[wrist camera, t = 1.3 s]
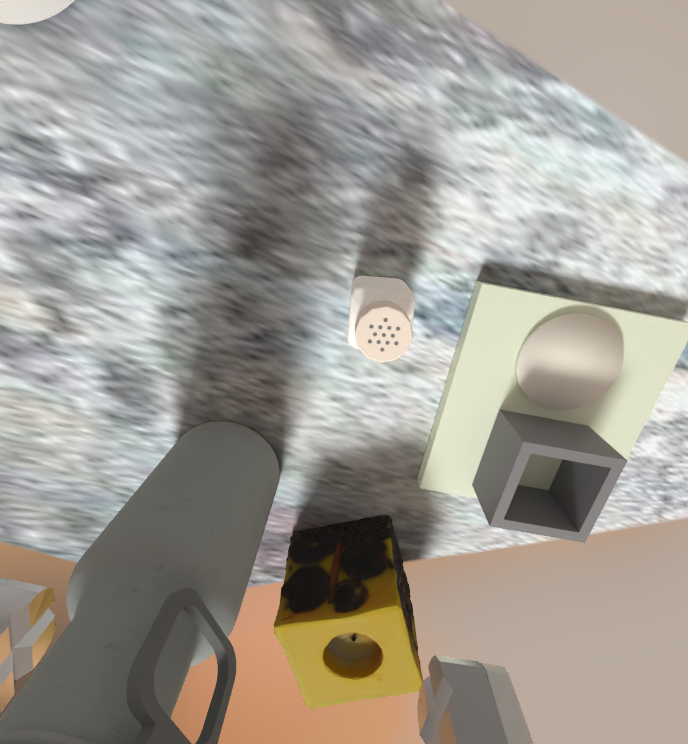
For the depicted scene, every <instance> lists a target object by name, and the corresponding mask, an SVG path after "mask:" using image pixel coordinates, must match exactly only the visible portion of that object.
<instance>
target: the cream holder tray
mask: <svg viewBox="0 0 688 744" xmlns="http://www.w3.org/2000/svg"><path fill="white" fill-rule="evenodd" d="M687 341H688V322H685V321H682V320H677V319H672V318H667V317H662V316H657V315H652V314H646V313H641V312H636V311H631V310H626V309H621V308H615V307H610V306H605V305H600V304H595V303H589V302H584V301H579V300H574V299H569V298H564V297H558V296H553V295H548V294H543V293H538V292H533V291H527V290H522V289H517V288H512V287H507V286H502V285H496V284H491V283H486V282H481V281H476V284H475V287H474V290H473V294H472V297H471V300H470V304H469V307H468V310H467V314H466V317H465V320H464V324H463V327H462V330H461V334H460V337H459V341H458V344H457V347H456V351H455V354H454V357H453V361H452V364H451V367H450V371H449V374H448V377H447V381H446V384H445V387H444V391H443V394H442V397H441V401H440V404H439V407H438V411H437V414H436V417H435V421H434V424H433V427H432V431H431V434H430V438H429V441H428V444H427V448H426V451H425V454H424V458H423V461H422V464H421V468H420V471H419V474H418V478H417V479H418V483H419V487H420V489H426V490H432V491H437V492H443V493H449V494H454V495H460V496H466V497H472V498H477V499H478V500H479V502H480V505H481V507H482V509H483V512H484V514H485V516H486V519H487V521H488V523H489V525H490V526H492V527H498V528H503V529H509V530H515V531H521V532H527V533H532V534H538V535H544V536H550V537H555V538H561V539H567V540H573V541H579V542H584V543H585V542H586V540H587V537H588V536H589V534H590V532H591V530H592V528H593V526H594V524H595V522H596V520H597V518H598V516H599V515H600V513H601V511H602V509H603V507H604V505H605V503H606V501H607V499H608V497H609V495H610V493H611V491H612V489H613V488H614V486H615V484H616V482H617V480H618V478H619V476H620V474H621V472H622V470H623V468H624V466H625V464H626V462H627V461H628V460H626V459H627V458H628V456H629V454H630V452H631V450H632V448H633V446H634V444H635V442H636V440H637V438H638V436H639V434H640V432H641V430H642V428H643V427H644V425H645V423H646V421H647V419H648V417H649V415H650V413H651V411H652V409H653V407H654V405H655V403H656V401H657V399H658V397H659V396H660V394H661V392H662V390H663V388H664V386H665V384H666V382H667V380H668V378H669V376H670V374H671V372H672V370H673V368H674V366H675V365H676V363H677V361H678V359H679V357H680V355H681V353H682V351H683V349H684V347H685V345H686V343H687Z"/></svg>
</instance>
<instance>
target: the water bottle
mask: <svg viewBox="0 0 688 744" xmlns="http://www.w3.org/2000/svg"><path fill="white" fill-rule="evenodd" d="M279 476H280V470H279V463H278V460H277V457H276V455H275V453H274V451H273V449H272V448H271V446H270V445H269V444H268V443H267V442H266V440H265V439H264V438H263V437H262V436H260V435H259V434H258V433H256V432H255V431H254V430H252V429H250V428H248V427H246V426H244V425H240V424H237V423H233V422H226V421H212V422H207V423H203V424H200V425H198V426H196V427H194V428H192V429H190V430H189V431H187V432H186V433H185V434H183V435H182V437H181V438H180V439H179V440H178V441H177V443H176V444H175V445H174V446H173V447H172V449H171V450H170V451H169V452H168V453H167V455H166V456H165V457H164V458H163V460H162V461H161V462H160V463H159V464H158V466H157V467H156V468H155V469H154V470H153V472H152V473H151V474H150V475H149V476H148V478H147V479H146V480H145V481H144V482H143V484H142V485H141V486H140V487H139V489H138V490H137V491H136V492H135V493H134V495H133V496H132V497H131V498H130V499H129V501H128V502H127V503H126V504H125V505H124V507H123V508H122V509H121V510H120V511H119V513H118V514H117V515H116V516H115V517H114V519H113V520H112V521H111V522H110V524H109V525H108V526H107V527H106V528H105V530H104V531H103V532H102V533H101V534H100V536H99V537H98V538H97V539H96V540H95V542H94V543H93V544H92V545H91V546H90V548H89V549H88V550H87V551H86V553H85V554H84V555H83V556H82V557H81V559H80V560H79V562H78V563H77V565H76V566H75V568H74V571H73V573H72V575H71V578H70V580H69V582H68V590H67V599H66V601H67V608H68V613H69V618H70V620H71V622H70V623H69V625H68V626H67V628H66V629H65V630H64V632H63V633H62V635H61V636H60V637H59V639H58V640H57V641H56V643H55V644H54V646H53V647H52V648H51V650H50V652H49V653H48V654H47V655H46V657H45V658H44V659H43V661H42V662H41V664H40V665H39V666H38V668H37V669H36V671H35V672H34V673H33V675H32V676H31V678H30V679H29V680H28V682H27V683H26V684H25V686H24V687H23V689H22V690H21V691H20V693H19V694H18V696H17V697H16V698H15V700H14V701H13V702H12V704H11V705H10V707H9V708H8V709H7V711H6V712H5V714H4V715H3V716H2V718H1V719H0V744H191V743H190V742H189V740H188V739H187V738H186V737H185V736H184V734H183V733H182V732H181V731H180V729H179V728H178V727H177V726H176V725H175V724H174V722H173V721H172V720H171V719H170V718H171V716H172V713H173V710H174V708H175V705H176V702H177V700H178V697H179V694H180V692H181V689H182V686H183V684H184V681H185V678H186V676H187V673H188V671H189V668H190V667H193V666H195V665H196V664H199V663H201V662H202V661H204V660H206V659H207V658H209V657H210V656H211V655H212V654H214V653H215V654H216V657H217V664H218V676H217V683H216V687H215V690H214V694H213V697H212V700H211V703H210V707H209V710H208V713H207V716H206V720H205V723H204V726H203V729H202V732H201V735H200V737H199V739H198V740H197V742H196V744H217V743H218V740H219V736H220V732H221V729H222V725H223V721H224V718H225V714H226V710H227V706H228V703H229V699H230V696H231V691H232V688H233V684H234V680H235V675H236V657H235V652H234V649H233V646H232V644H231V643H230V641H229V640H228V637H229V635H230V634H231V632H232V630H233V627H234V625H235V622H236V620H237V616H238V614H239V611H240V607H241V604H242V601H243V597H244V594H245V591H246V588H247V585H248V581H249V578H250V575H251V572H252V568H253V565H254V562H255V559H256V555H257V552H258V549H259V546H260V542H261V539H262V536H263V532H264V529H265V526H266V523H267V519H268V516H269V513H270V510H271V506H272V503H273V500H274V497H275V493H276V490H277V487H278V484H279Z"/></svg>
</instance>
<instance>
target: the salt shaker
mask: <svg viewBox="0 0 688 744" xmlns="http://www.w3.org/2000/svg"><path fill="white" fill-rule="evenodd" d="M414 305H415V299H414V295H413V292H412V291H411V290H410V289H409V287H408V286H407V285H406V283H405V282H404V281H402V280H400V279H398V278H386V277H373V276H358V277H355V278H354V280H353V282H352V288H351V298H350V310H349V323H348V336H347V339H348V342H349V344H350V345H351V346H353V347H355V348H357V349H360V350H361V351H362V353H363V354H364V355H365V356H366V357H367V358H370V359H373V360H376V361H379V362H385V361H391V360H396V359H397V358H398V357H400V356H401V355H402V354H404V353H405V352H406V351H407V350H408V348H409V345H410V343H411V341H412V338H413V332H412V323H413V315H414Z"/></svg>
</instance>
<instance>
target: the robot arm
mask: <svg viewBox="0 0 688 744" xmlns="http://www.w3.org/2000/svg"><path fill="white" fill-rule="evenodd" d="M73 1H74V0H0V23H4V24H28V23H34V22H38V21H42V20H45V19H47V18H49V17H52V16H54V15H56V14H57V13H59V12H61V11H62V10H64V9H65V8H66V7H68V6H69V5H70V4H71V3H72V2H73ZM54 600H55V598H54V589H53V588H48V587H43V586H39V585H33V584H29V583H24V582H19V581H14V580H9V579H4V578H0V712H1V711H2V709H3V708H4V707H5V706H6V704H7V703H8V702H9V700H10V699H11V698H12V696H13V695H14V694H15V683H16V680H17V679H18V678H20V677H21V676H23V675H25V674H26V673H28V672H29V671H31V670H33V669H34V667H35V666H36V664H37V663H38V662H39V660H40V659H41V658H42V656H43V655H44V654H45V652H46V650H47V648H48V646H49V644H50V642H51V640H52V638H53V634H54V630H55V626H56V622H55V621H56V620H55V615H54V614H53V613H52V612H51V610H50V609H49V607H50V606H51V604H52V603H53V602H54ZM429 673H430V676H429V677H428V678H426V679H425V680H423V682H422V685H421V688H420V691H419V699H418V723H419V732H420V736H421V737H422V739H423V740H424V742H425V744H534V743H533V740H532V738H531V735H530V732H529V729H528V726H527V724H526V721H525V718H524V715H523V712H522V710H521V707H520V705H519V702H518V699H517V696H516V693H515V690H514V688H513V685H512V682H511V679H510V677H509V674H508V672H507V671H506V669H505V668H504V667H501V666H497V665H490V664H484V663H479V662H477V661H470V660H464V659H458V658H452V657H445V656H439V655H435V656H433V657H432V658H431V661H430V663H429Z"/></svg>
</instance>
